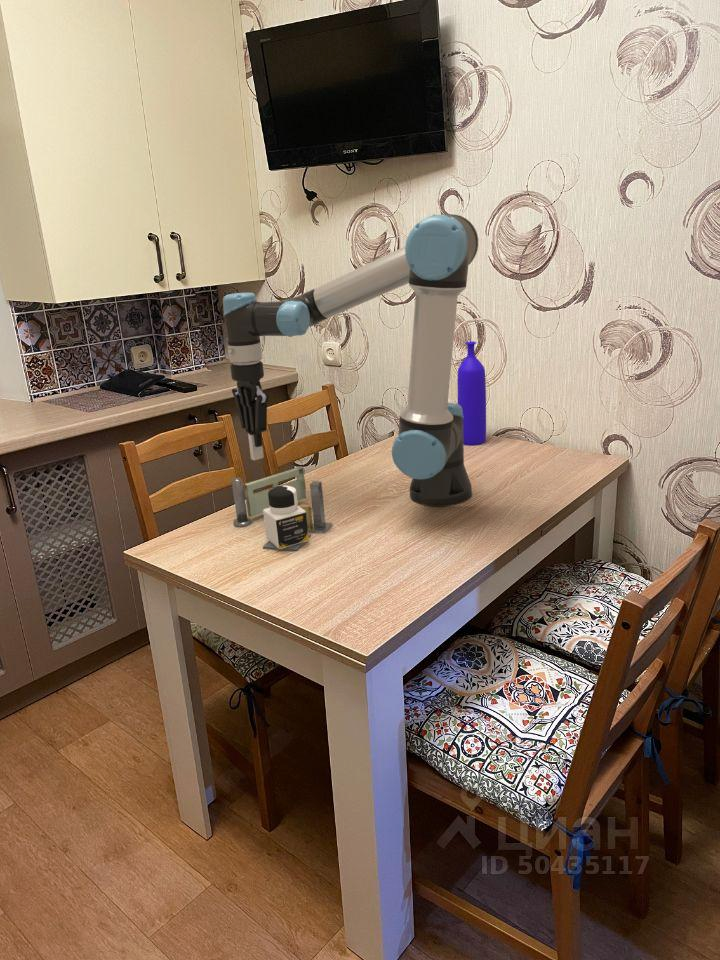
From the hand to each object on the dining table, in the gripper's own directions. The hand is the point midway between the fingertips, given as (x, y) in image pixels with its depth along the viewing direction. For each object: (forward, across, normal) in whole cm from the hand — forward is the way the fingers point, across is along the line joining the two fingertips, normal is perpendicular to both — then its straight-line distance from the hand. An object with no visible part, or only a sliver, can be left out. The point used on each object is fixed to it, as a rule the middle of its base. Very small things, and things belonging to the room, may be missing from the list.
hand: (257, 458), depth 172 cm
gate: (+11, +6, 0) cm, 13 cm away
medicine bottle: (+12, +23, -8) cm, 27 cm away
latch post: (+12, +23, +1) cm, 26 cm away
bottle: (+12, +6, +71) cm, 72 cm away
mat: (+12, +23, -8) cm, 28 cm away
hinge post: (+12, +6, -10) cm, 17 cm away
